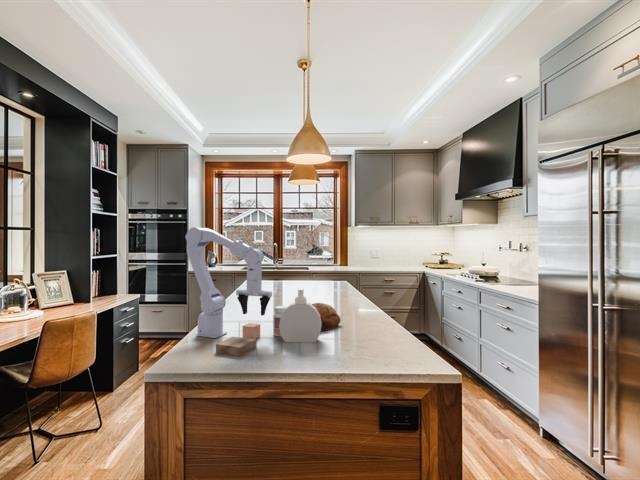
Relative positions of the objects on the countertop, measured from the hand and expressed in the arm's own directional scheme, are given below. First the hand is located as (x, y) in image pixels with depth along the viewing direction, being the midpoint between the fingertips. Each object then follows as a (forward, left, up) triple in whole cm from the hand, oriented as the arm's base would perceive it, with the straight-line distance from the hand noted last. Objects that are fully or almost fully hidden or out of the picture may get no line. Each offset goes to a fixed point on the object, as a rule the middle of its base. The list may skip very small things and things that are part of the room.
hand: (253, 314), depth 145 cm
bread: (+14, +26, -10) cm, 31 cm away
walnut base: (+3, -16, -9) cm, 18 cm away
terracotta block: (-1, 0, -10) cm, 10 cm away
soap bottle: (+19, +3, -10) cm, 21 cm away
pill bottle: (+8, +8, -10) cm, 15 cm away
